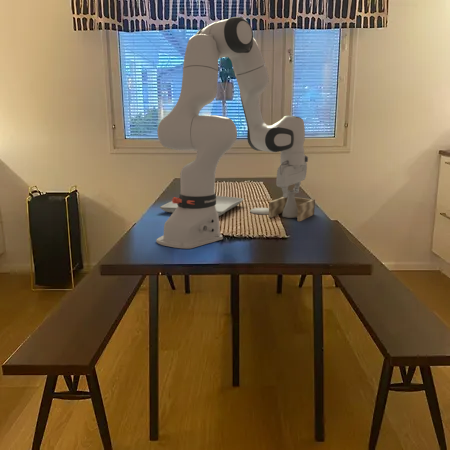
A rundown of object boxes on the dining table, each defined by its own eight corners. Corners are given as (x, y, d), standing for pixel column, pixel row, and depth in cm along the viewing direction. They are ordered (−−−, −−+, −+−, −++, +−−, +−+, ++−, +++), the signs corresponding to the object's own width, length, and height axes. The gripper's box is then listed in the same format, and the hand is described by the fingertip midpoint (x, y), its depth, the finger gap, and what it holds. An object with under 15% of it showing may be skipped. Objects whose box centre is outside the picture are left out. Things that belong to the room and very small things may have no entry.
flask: (299, 219, 177) (300, 193, 175) (280, 218, 178) (281, 192, 176) (300, 214, 184) (301, 189, 181) (282, 213, 185) (282, 189, 183)
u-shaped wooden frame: (299, 221, 173) (300, 205, 171) (268, 217, 180) (269, 202, 178) (314, 214, 184) (314, 199, 183) (284, 210, 191) (285, 196, 190)
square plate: (188, 201, 211) (187, 193, 210) (245, 206, 201) (245, 197, 200) (159, 214, 186) (158, 205, 185) (222, 220, 177) (222, 210, 176)
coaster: (267, 215, 182) (267, 214, 182) (245, 212, 187) (245, 211, 187) (279, 210, 190) (279, 209, 190) (257, 208, 195) (257, 206, 195)
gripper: (288, 163, 166) (287, 201, 170) (310, 156, 183) (308, 191, 186) (272, 162, 169) (271, 199, 173) (295, 155, 186) (294, 189, 190)
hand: (291, 195), depth 180 cm, fingers open, 8 cm apart
